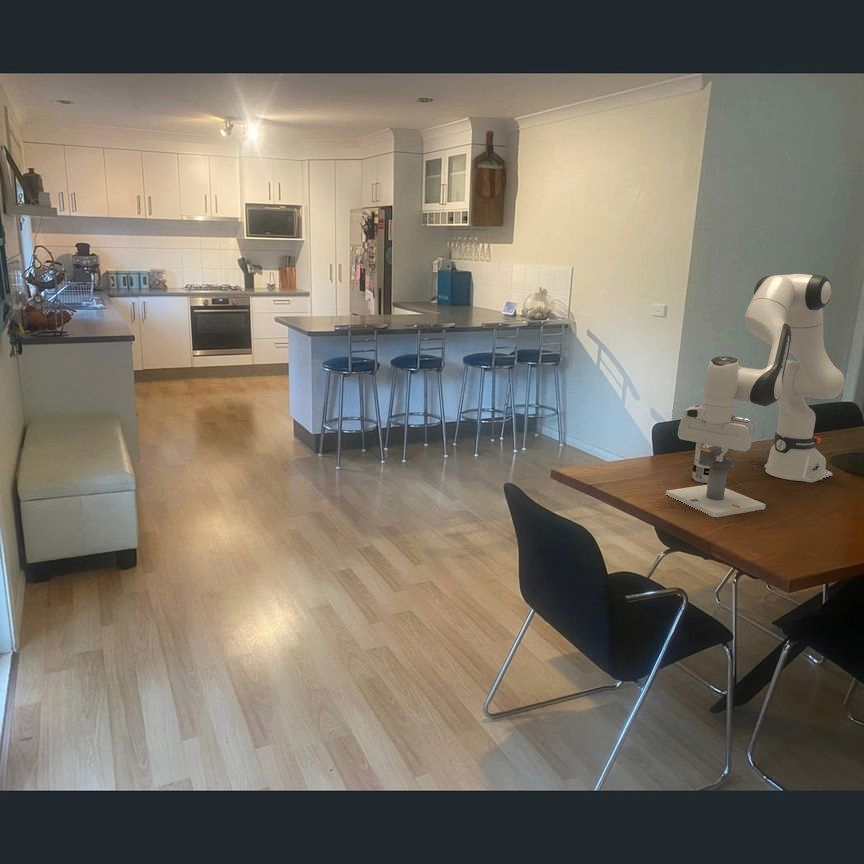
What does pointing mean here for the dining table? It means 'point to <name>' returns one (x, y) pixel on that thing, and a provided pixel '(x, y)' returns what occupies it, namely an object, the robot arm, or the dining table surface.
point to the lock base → (715, 504)
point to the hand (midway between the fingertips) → (710, 459)
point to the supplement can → (700, 467)
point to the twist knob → (710, 458)
